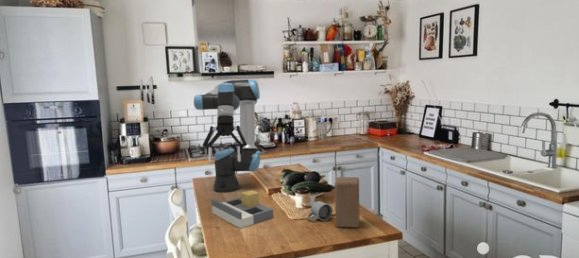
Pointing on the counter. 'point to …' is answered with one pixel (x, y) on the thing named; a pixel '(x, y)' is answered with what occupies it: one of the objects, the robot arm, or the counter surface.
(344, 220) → the wooden block
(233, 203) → the tray
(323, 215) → the ceramic mug
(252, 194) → the ochre cube
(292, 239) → the counter surface
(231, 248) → the counter surface
